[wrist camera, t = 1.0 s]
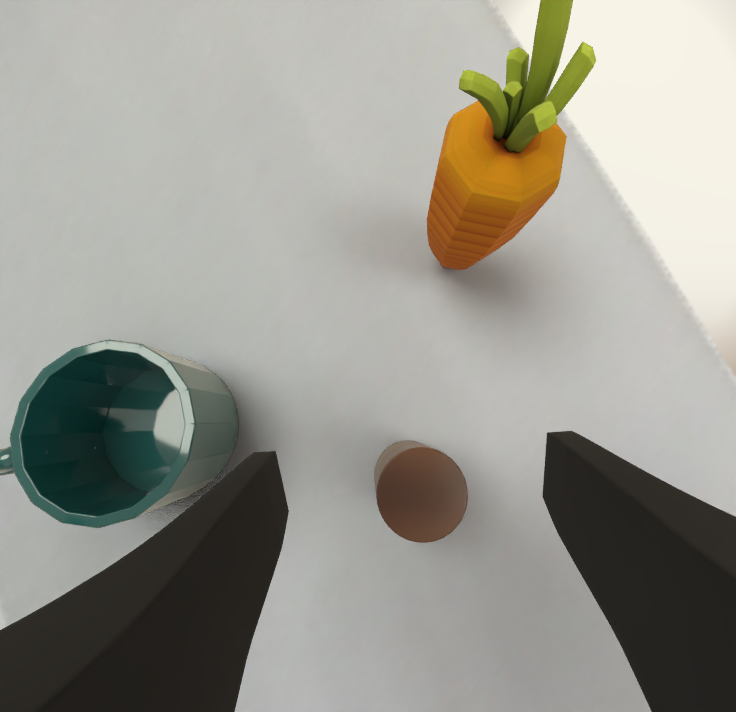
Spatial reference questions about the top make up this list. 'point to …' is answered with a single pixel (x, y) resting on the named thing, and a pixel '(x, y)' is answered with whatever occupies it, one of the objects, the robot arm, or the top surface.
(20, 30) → the top surface
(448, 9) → the top surface
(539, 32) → the carrot
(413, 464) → the walnut peg
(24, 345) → the top surface
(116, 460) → the mug
